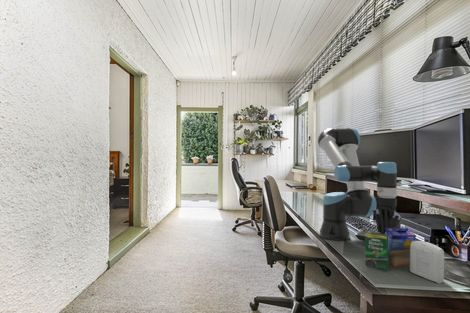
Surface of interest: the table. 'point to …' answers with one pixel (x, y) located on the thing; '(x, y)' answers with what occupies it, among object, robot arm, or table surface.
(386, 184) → the robot arm
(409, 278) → the table surface
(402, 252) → the walnut fence board
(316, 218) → the table surface
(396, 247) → the ink cartridge box
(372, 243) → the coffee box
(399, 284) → the table surface
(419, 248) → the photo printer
